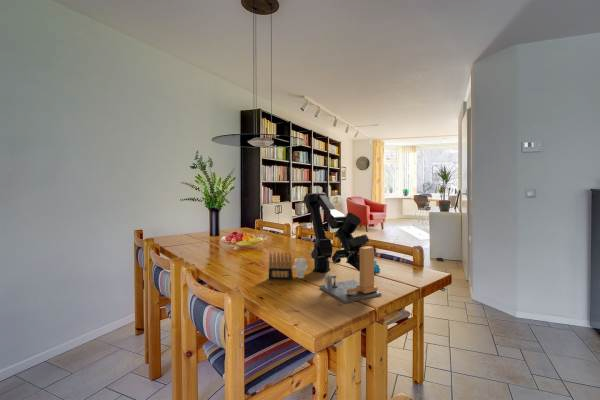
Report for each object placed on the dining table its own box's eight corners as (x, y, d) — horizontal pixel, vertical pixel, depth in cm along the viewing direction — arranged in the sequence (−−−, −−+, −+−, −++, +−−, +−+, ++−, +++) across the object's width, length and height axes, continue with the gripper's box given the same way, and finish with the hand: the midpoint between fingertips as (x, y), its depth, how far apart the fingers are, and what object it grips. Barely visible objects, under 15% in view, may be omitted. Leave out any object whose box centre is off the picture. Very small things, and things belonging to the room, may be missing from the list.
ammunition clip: (292, 278, 130) (292, 252, 129) (292, 280, 128) (291, 253, 127) (269, 278, 131) (268, 251, 131) (268, 279, 129) (267, 252, 129)
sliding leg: (343, 292, 109) (343, 248, 108) (368, 286, 114) (368, 245, 114) (351, 296, 105) (351, 251, 104) (377, 290, 110) (377, 247, 109)
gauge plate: (319, 288, 117) (319, 273, 117) (353, 281, 125) (353, 268, 124) (344, 303, 102) (344, 286, 101) (381, 295, 109) (381, 279, 109)
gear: (377, 272, 133) (363, 254, 137) (367, 279, 135) (354, 262, 139) (384, 269, 142) (371, 253, 146) (375, 276, 144) (362, 260, 148)
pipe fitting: (299, 273, 137) (299, 257, 136) (310, 277, 132) (310, 259, 131) (290, 276, 132) (289, 259, 132) (301, 280, 127) (300, 262, 127)
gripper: (335, 230, 112) (352, 265, 103) (373, 226, 120) (392, 258, 111) (325, 246, 120) (340, 280, 110) (361, 242, 128) (378, 273, 118)
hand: (363, 272), depth 112 cm, fingers closed
